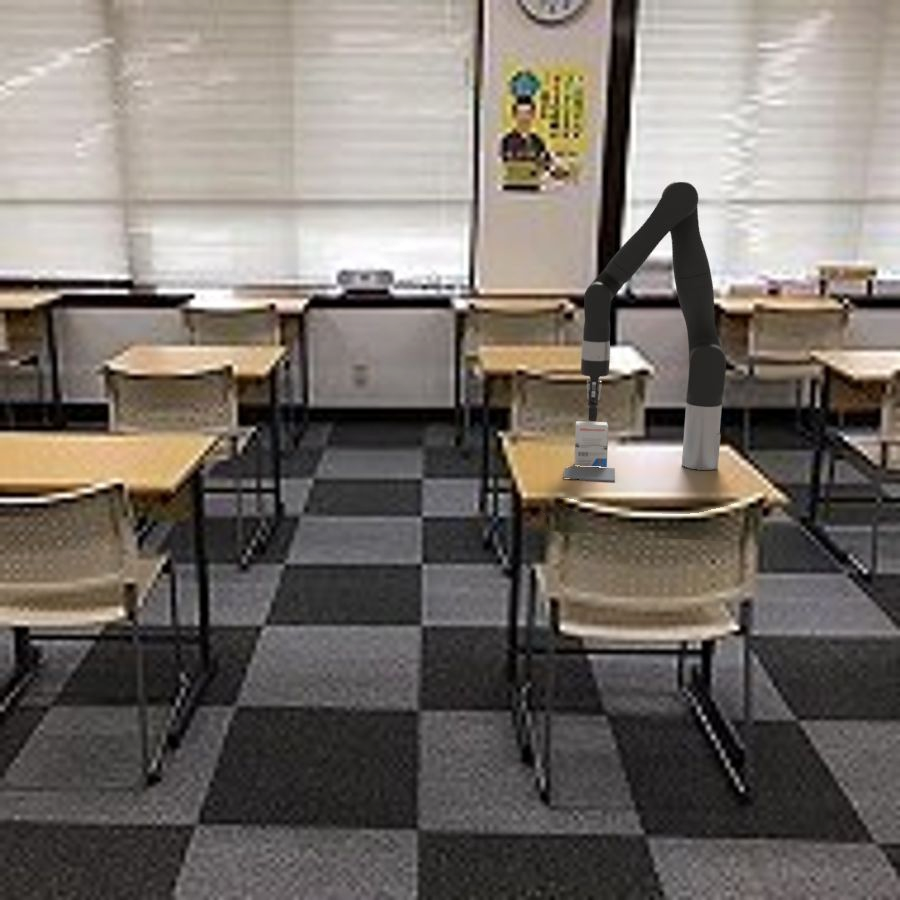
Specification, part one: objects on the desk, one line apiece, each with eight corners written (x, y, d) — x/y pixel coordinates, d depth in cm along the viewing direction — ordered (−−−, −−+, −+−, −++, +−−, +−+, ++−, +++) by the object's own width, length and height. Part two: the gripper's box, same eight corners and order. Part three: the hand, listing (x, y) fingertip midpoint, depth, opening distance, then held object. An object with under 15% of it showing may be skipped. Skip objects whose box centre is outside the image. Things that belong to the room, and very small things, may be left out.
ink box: (605, 463, 282) (608, 421, 279) (606, 468, 278) (609, 425, 275) (573, 462, 283) (575, 420, 280) (574, 467, 278) (576, 424, 275)
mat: (614, 470, 276) (614, 468, 276) (614, 482, 265) (614, 480, 265) (565, 467, 278) (565, 465, 278) (563, 479, 267) (563, 477, 267)
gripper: (609, 361, 272) (606, 426, 277) (610, 353, 285) (606, 416, 289) (580, 360, 273) (577, 425, 278) (582, 352, 286) (579, 414, 290)
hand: (592, 420), depth 283 cm, fingers closed
